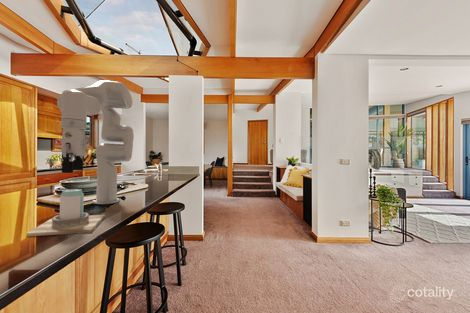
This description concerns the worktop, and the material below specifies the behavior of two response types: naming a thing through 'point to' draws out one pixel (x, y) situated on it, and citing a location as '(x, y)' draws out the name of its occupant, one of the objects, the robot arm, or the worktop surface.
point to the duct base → (67, 225)
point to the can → (71, 204)
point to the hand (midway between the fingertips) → (73, 171)
